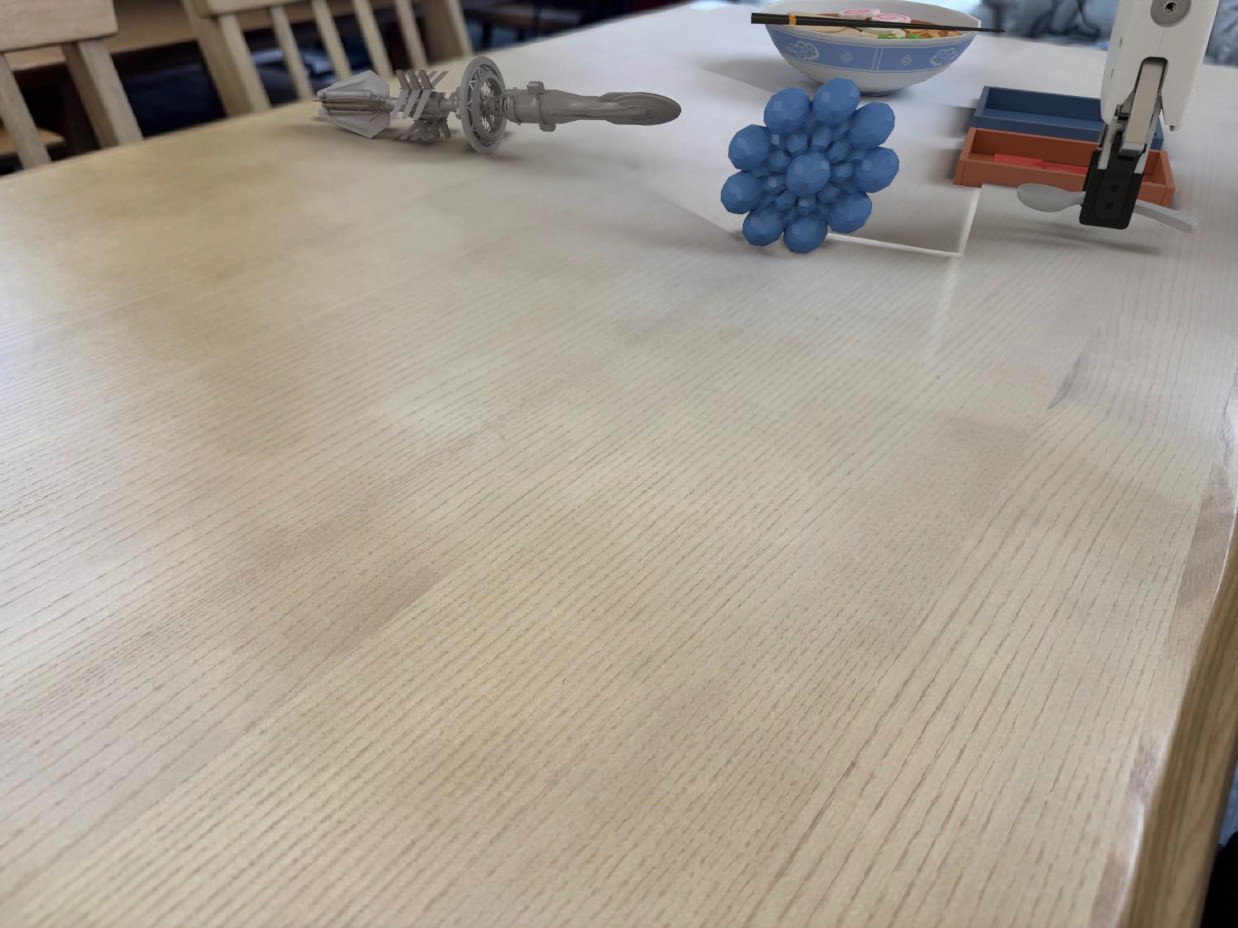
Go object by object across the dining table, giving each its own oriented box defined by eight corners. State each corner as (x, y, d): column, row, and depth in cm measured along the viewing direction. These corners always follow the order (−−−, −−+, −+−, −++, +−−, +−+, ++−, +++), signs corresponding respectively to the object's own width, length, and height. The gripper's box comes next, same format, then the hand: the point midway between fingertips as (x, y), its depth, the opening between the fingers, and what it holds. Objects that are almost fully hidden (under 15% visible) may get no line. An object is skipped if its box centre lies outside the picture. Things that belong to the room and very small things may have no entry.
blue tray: (1148, 129, 98) (1156, 104, 96) (1155, 166, 88) (1164, 139, 87) (978, 109, 102) (984, 85, 101) (967, 142, 93) (973, 116, 92)
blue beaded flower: (879, 238, 73) (911, 67, 66) (882, 275, 67) (917, 92, 61) (722, 224, 74) (736, 55, 68) (712, 258, 69) (727, 79, 62)
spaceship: (658, 96, 74) (687, 34, 78) (276, 92, 86) (318, 38, 90) (675, 181, 80) (701, 119, 84) (317, 167, 92) (354, 113, 96)
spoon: (1015, 197, 73) (1023, 170, 72) (1189, 233, 70) (1200, 206, 69) (1010, 210, 71) (1018, 183, 70) (1189, 249, 68) (1201, 221, 66)
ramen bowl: (957, 69, 117) (972, -7, 112) (997, 124, 98) (1018, 36, 93) (744, 58, 119) (750, -17, 114) (743, 111, 100) (751, 24, 95)
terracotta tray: (1157, 179, 85) (1167, 151, 84) (1164, 218, 78) (1175, 188, 76) (964, 153, 90) (969, 126, 89) (952, 188, 82) (958, 159, 81)
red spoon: (1142, 184, 83) (1146, 170, 82) (1143, 196, 81) (1148, 181, 80) (991, 164, 86) (995, 151, 86) (989, 175, 84) (992, 161, 83)
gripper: (1275, -56, 52) (1166, 269, 63) (1240, -89, 65) (1154, 187, 75) (1122, -62, 55) (1041, 252, 65) (1116, -93, 67) (1049, 175, 78)
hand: (1102, 214), depth 70 cm, fingers closed on spoon, 2 cm apart
